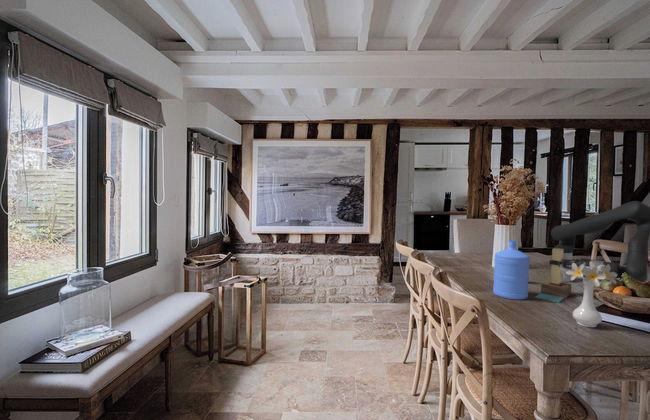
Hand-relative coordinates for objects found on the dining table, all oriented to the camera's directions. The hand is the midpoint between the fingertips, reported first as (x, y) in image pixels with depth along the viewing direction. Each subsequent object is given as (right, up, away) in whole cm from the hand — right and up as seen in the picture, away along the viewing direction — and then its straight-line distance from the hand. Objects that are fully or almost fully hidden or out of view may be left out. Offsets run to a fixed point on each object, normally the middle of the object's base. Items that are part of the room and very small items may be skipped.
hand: (551, 261), depth 181 cm
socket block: (+2, -17, -1) cm, 17 cm away
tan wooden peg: (+2, -11, -1) cm, 11 cm away
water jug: (-25, -17, -6) cm, 30 cm away
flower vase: (-15, -19, -44) cm, 50 cm away
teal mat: (-7, -17, -9) cm, 21 cm away
